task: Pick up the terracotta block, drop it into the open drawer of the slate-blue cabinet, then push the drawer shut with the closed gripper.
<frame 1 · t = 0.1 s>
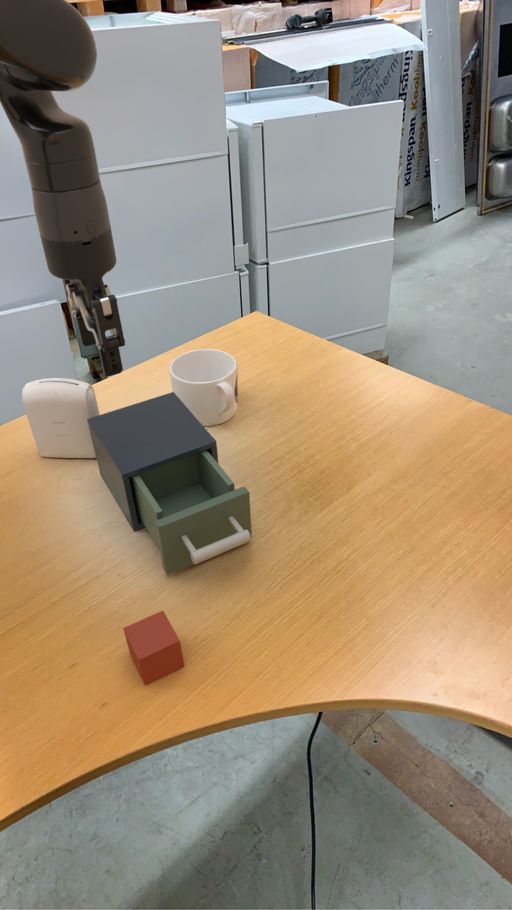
hand: (102, 358, 80), 19 cm above the table, tool pointing down, fingers open, 8 cm apart
block: (156, 659, 69), on the table
photo printer: (73, 452, 98), on the table
mug: (211, 414, 104), on the table
cabinet: (159, 485, 91), on the table
drawer: (193, 512, 79), point 5 cm above the table, slide at 8.5 cm
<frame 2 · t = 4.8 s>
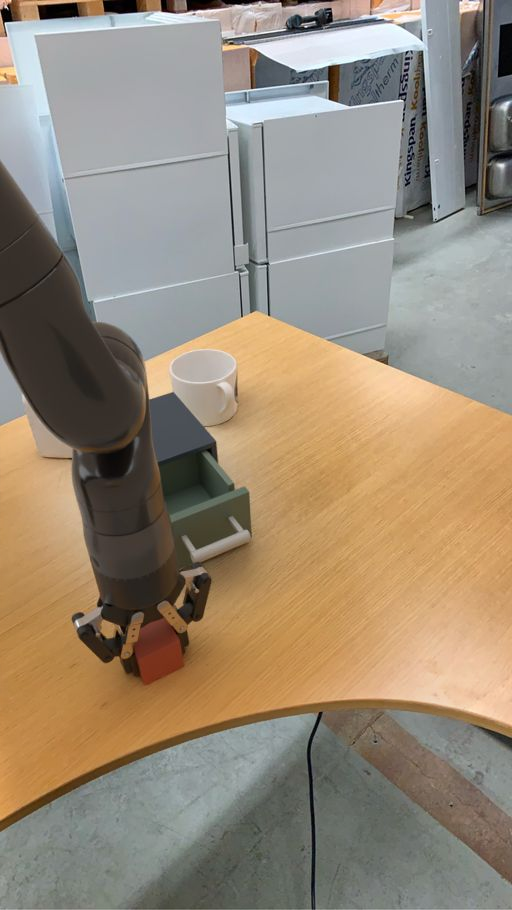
hand: (156, 658, 68), 0 cm above the table, tool pointing down, fingers closed on block, 4 cm apart
block: (156, 659, 69), on the table, touching gripper
everything else where it was.
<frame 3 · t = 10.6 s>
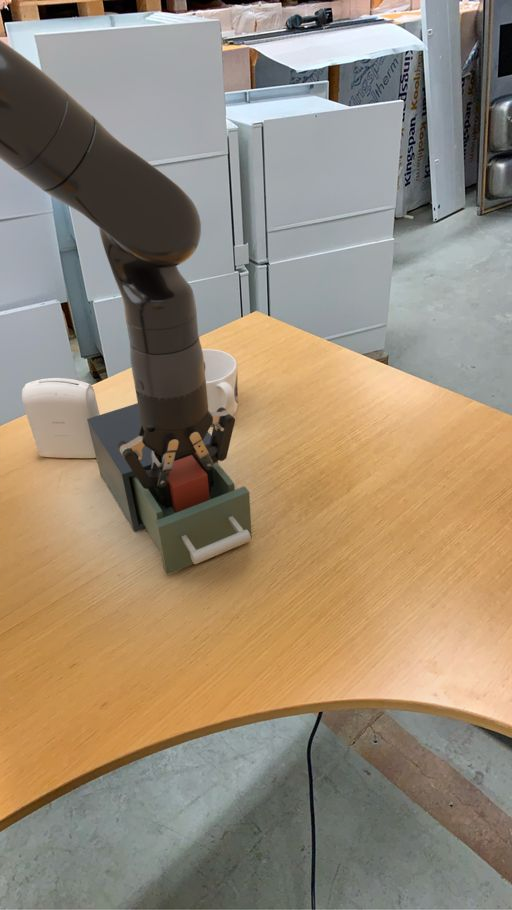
hand: (185, 496, 80), 6 cm above the table, tool pointing down, fingers closed on block, 4 cm apart
block: (186, 498, 80), point 6 cm above the table, touching gripper
drawer: (193, 512, 79), point 5 cm above the table, slide at 8.5 cm, touching gripper
everything else where it was.
when the fingers open (9 cm above the table, at t = 27.9 s): block drops 7 cm, resting on drawer.
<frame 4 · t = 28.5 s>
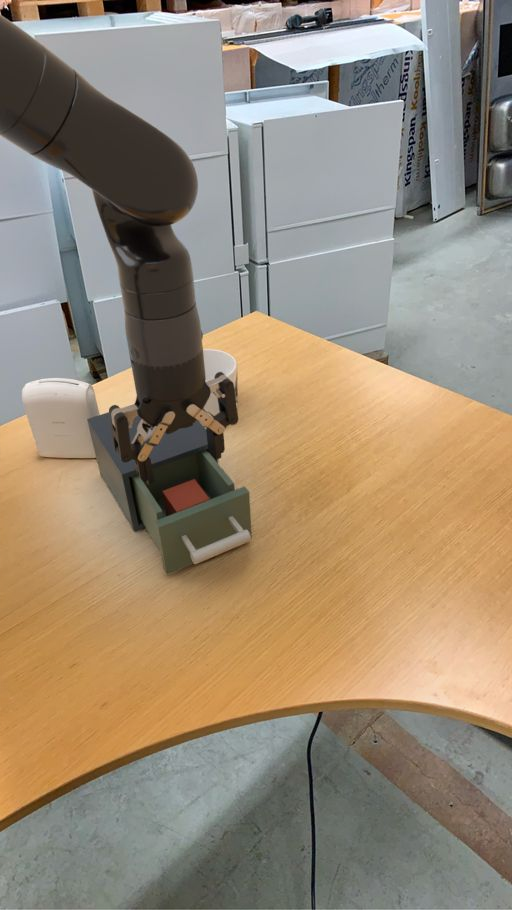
hand: (182, 467, 77), 11 cm above the table, tool pointing down, fingers open, 8 cm apart
block: (189, 520, 82), point 2 cm above the table, touching drawer
drawer: (193, 512, 79), point 5 cm above the table, slide at 8.5 cm, touching block
everything else where it was.
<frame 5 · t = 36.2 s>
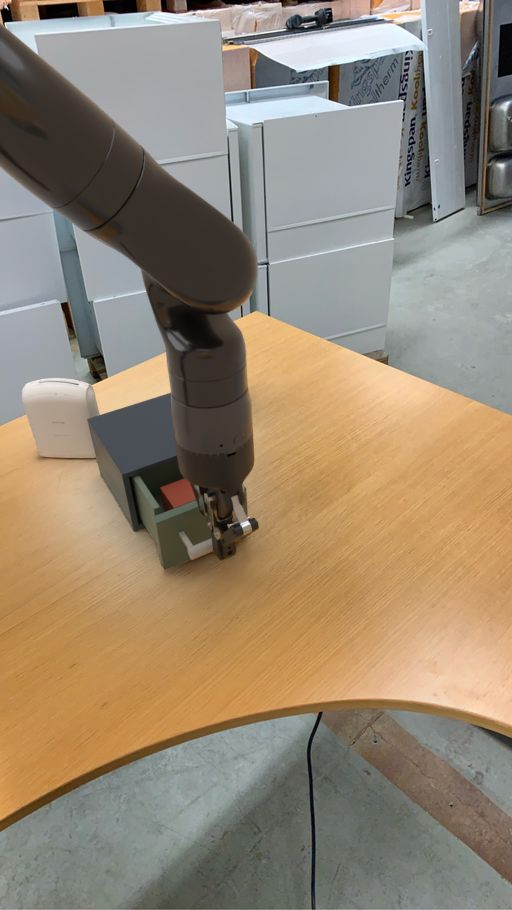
hand: (225, 553, 73), 6 cm above the table, tool pointing down, fingers closed
drawer: (190, 508, 80), point 5 cm above the table, slide at 7.7 cm, touching block, gripper
everything else where it was.
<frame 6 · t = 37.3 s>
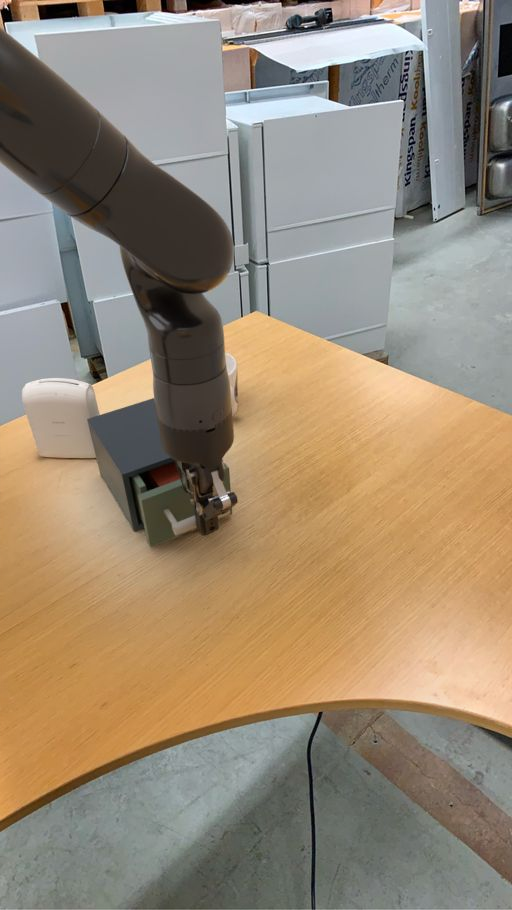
hand: (208, 530, 76), 6 cm above the table, tool pointing down, fingers closed
block: (173, 497, 86), point 2 cm above the table, touching drawer
drawer: (176, 488, 83), point 5 cm above the table, slide at 3.3 cm, touching block, gripper
everything else where it was.
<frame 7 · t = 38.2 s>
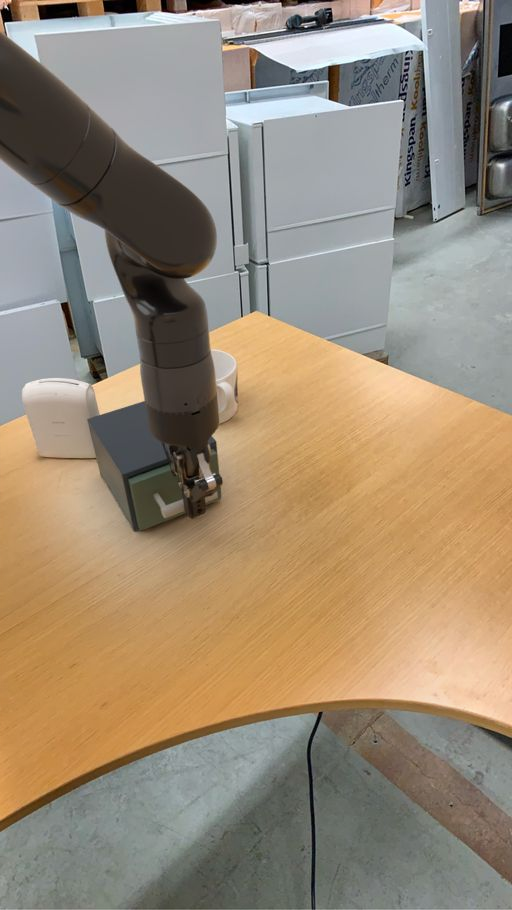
hand: (195, 513, 78), 6 cm above the table, tool pointing down, fingers closed
block: (163, 483, 88), point 2 cm above the table, touching drawer
drawer: (165, 474, 85), point 5 cm above the table, slide at 0.0 cm, touching block, cabinet, gripper
everything else where it was.
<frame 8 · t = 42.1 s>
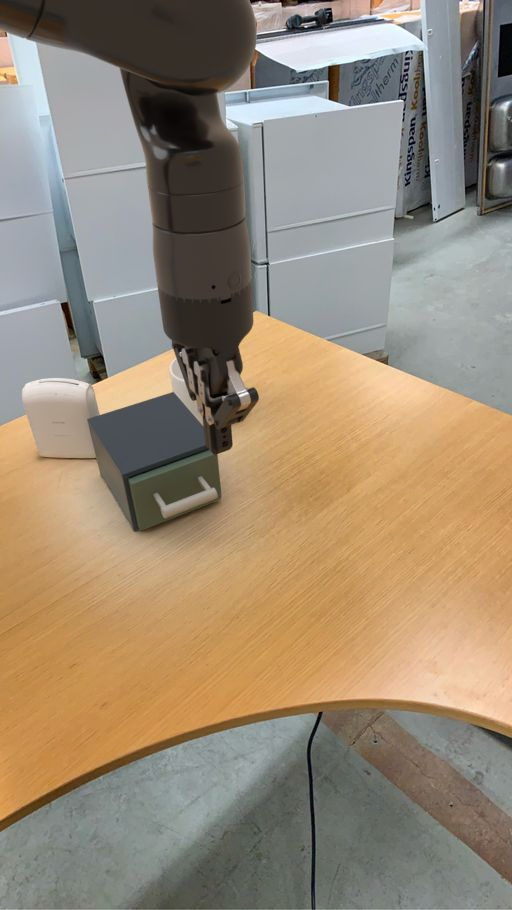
hand: (219, 448, 62), 21 cm above the table, tool pointing down, fingers closed
drawer: (165, 474, 85), point 5 cm above the table, slide at 0.0 cm, touching block, cabinet
everything else where it was.
at the end: block inside the target area in the cabinet (2.1 cm from its centre), point 2.0 cm above the cabinet's base; drawer slide at 0.0 cm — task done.
